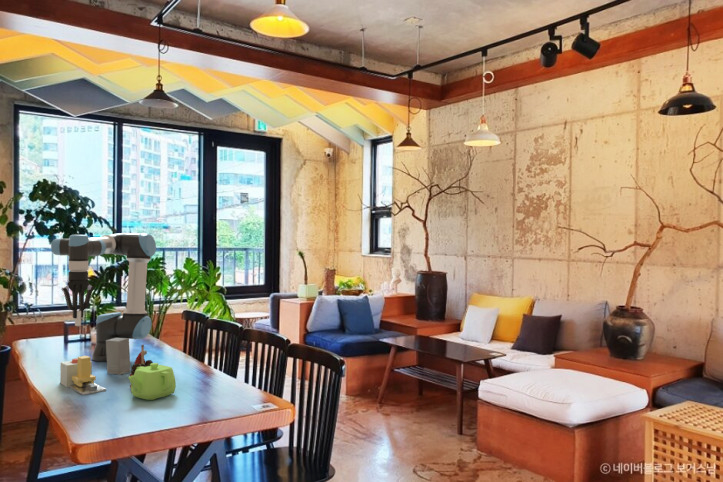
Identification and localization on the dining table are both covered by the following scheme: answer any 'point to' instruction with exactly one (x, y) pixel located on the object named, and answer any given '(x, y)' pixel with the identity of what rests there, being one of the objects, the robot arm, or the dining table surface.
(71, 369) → the cabinet
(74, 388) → the rail base
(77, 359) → the button
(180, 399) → the dining table surface
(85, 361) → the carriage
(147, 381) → the teapot
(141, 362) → the red brown figurine
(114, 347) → the skincare box
